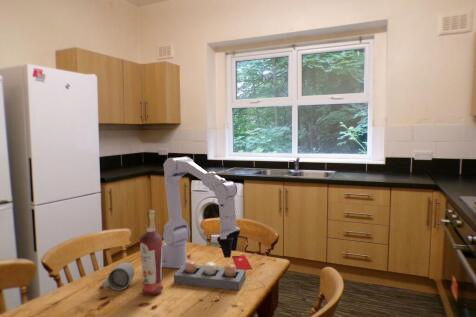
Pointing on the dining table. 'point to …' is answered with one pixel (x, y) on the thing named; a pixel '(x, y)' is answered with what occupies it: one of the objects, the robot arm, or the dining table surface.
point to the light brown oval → (230, 270)
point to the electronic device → (241, 262)
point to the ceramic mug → (120, 276)
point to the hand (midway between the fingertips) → (230, 253)
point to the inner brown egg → (190, 266)
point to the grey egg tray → (210, 278)
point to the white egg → (210, 268)
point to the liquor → (151, 257)
